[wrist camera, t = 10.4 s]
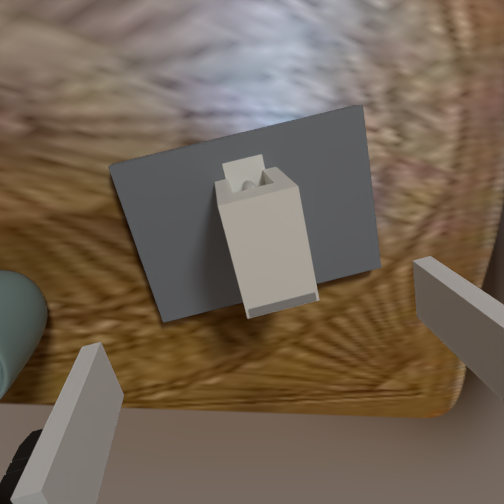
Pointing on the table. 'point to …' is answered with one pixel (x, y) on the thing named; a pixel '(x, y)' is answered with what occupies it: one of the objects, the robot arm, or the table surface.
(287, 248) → the housing
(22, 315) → the cup
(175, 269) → the board
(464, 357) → the robot arm
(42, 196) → the table surface
